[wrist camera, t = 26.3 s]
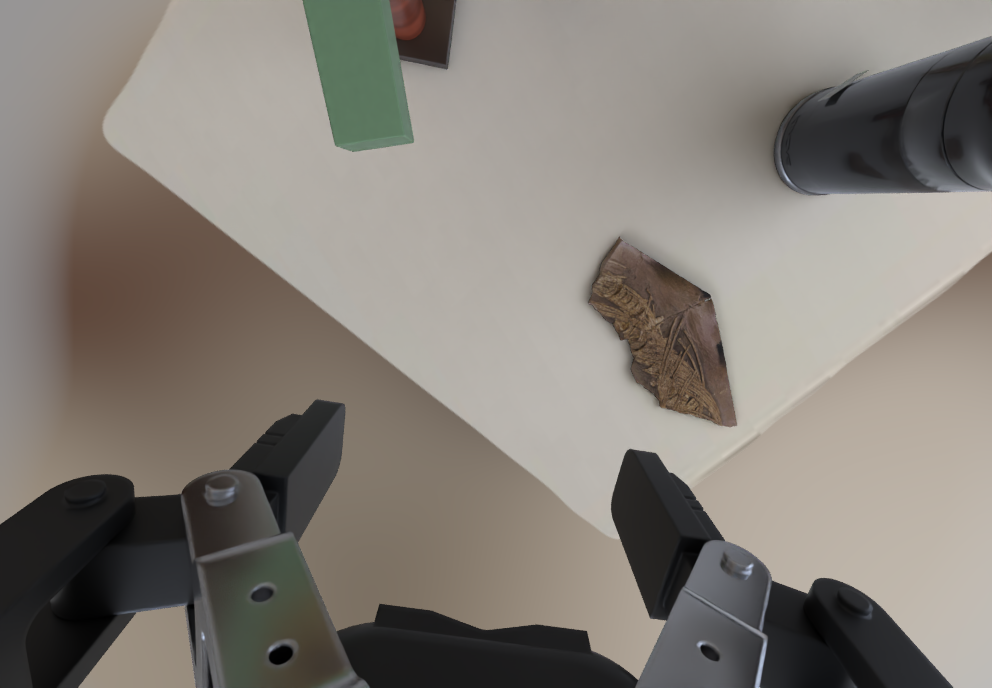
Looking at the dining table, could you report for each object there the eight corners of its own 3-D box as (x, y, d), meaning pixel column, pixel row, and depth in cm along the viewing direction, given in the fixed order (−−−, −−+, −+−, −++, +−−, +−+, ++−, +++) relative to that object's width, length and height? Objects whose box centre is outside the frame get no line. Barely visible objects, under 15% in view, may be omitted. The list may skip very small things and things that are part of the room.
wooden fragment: (568, 270, 47) (570, 272, 46) (663, 209, 45) (667, 210, 44) (679, 453, 54) (683, 457, 53) (766, 405, 52) (771, 410, 51)
